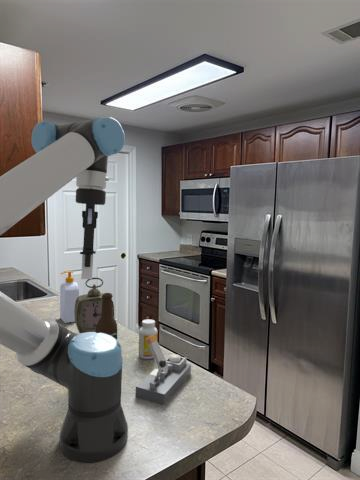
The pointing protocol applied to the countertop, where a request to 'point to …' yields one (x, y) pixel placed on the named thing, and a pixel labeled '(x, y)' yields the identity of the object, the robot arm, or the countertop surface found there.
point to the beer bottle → (107, 317)
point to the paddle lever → (156, 352)
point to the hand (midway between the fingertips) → (86, 278)
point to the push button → (174, 358)
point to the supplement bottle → (144, 333)
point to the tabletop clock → (89, 309)
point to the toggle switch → (162, 364)
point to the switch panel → (164, 382)
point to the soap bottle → (68, 298)
